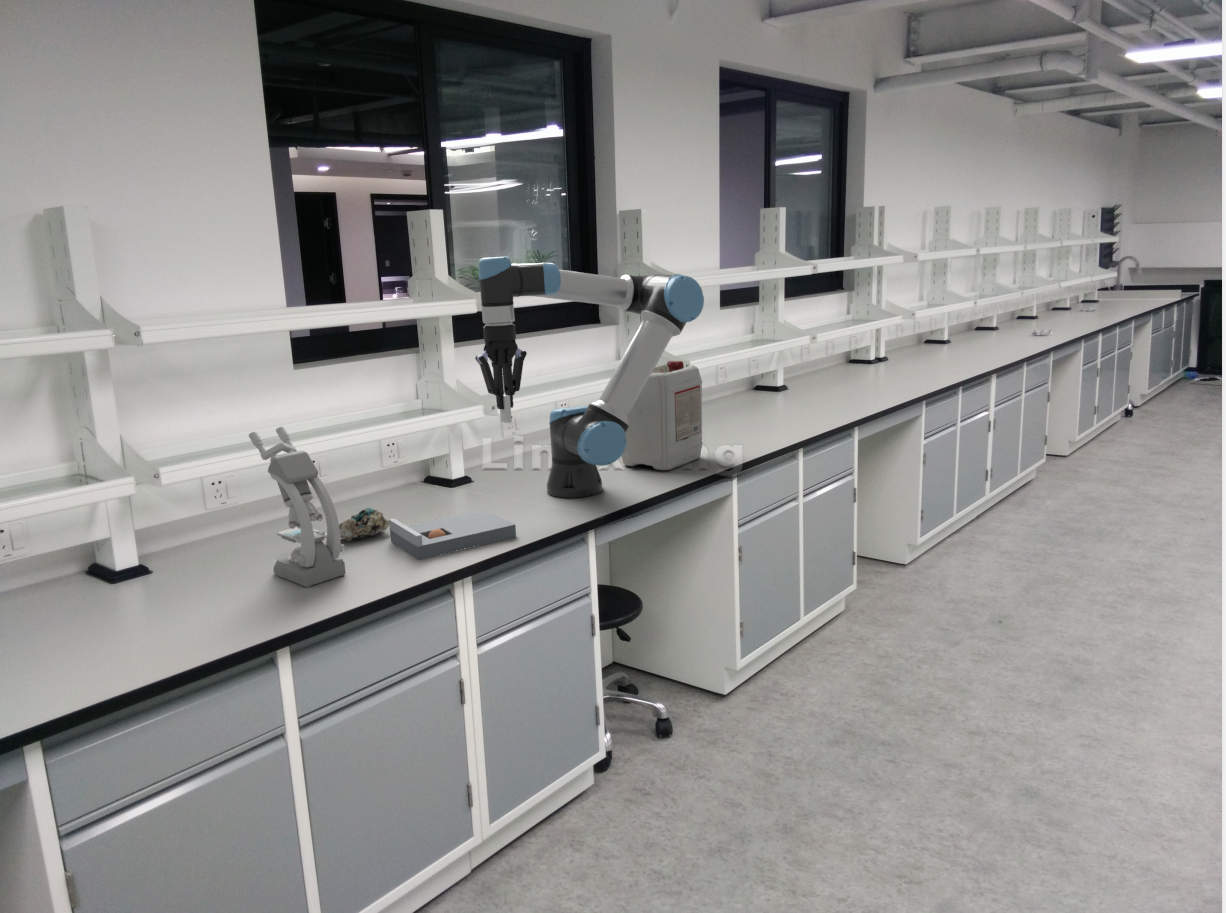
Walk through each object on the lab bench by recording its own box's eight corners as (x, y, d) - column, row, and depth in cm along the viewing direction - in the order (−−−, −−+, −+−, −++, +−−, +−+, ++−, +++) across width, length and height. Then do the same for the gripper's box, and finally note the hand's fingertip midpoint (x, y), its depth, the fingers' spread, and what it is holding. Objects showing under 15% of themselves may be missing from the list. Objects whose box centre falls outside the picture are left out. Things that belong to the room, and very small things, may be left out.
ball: (443, 539, 206) (438, 524, 204) (451, 544, 203) (446, 528, 201) (428, 547, 204) (423, 531, 203) (435, 551, 201) (430, 535, 199)
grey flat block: (484, 521, 220) (483, 500, 219) (516, 536, 208) (514, 514, 206) (391, 541, 207) (388, 519, 206) (418, 559, 194) (416, 536, 193)
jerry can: (657, 451, 289) (655, 358, 282) (708, 457, 278) (707, 360, 272) (614, 467, 270) (611, 368, 263) (667, 474, 259) (665, 371, 253)
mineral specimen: (378, 523, 219) (363, 496, 216) (398, 527, 213) (383, 499, 209) (338, 552, 212) (322, 524, 209) (357, 557, 205) (341, 528, 202)
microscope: (304, 557, 199) (288, 424, 192) (353, 575, 187) (337, 433, 180) (258, 571, 191) (239, 433, 184) (305, 590, 179) (287, 443, 172)
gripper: (515, 320, 219) (521, 415, 224) (466, 325, 212) (475, 423, 217) (530, 322, 213) (537, 419, 218) (481, 327, 206) (489, 428, 211)
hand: (506, 421), depth 218 cm, fingers closed
